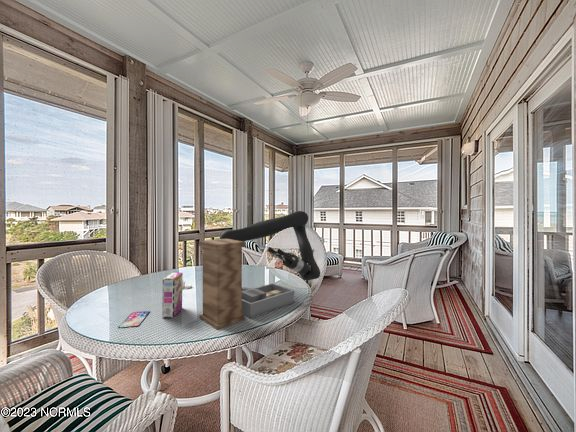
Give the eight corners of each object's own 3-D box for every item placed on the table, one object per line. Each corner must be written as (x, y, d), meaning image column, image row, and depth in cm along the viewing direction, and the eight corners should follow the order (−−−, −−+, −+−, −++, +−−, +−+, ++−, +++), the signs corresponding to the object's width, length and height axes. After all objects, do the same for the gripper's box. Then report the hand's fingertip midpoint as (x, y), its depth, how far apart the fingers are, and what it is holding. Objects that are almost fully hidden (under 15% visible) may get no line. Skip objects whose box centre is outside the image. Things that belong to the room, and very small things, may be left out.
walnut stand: (216, 329, 98) (216, 244, 97) (199, 317, 108) (199, 241, 107) (245, 319, 108) (245, 241, 106) (226, 309, 118) (226, 238, 116)
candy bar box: (174, 318, 108) (174, 278, 108) (162, 318, 108) (161, 278, 107) (183, 307, 119) (182, 271, 119) (171, 307, 119) (171, 272, 118)
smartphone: (116, 327, 99) (132, 312, 113) (116, 329, 99) (132, 313, 113) (138, 326, 100) (151, 310, 115) (138, 327, 100) (151, 312, 115)
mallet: (251, 310, 114) (252, 296, 114) (241, 304, 120) (241, 292, 119) (285, 299, 128) (285, 287, 128) (274, 295, 134) (274, 283, 133)
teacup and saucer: (193, 287, 149) (193, 280, 149) (181, 291, 143) (181, 284, 142) (184, 285, 154) (184, 278, 154) (171, 288, 147) (171, 281, 147)
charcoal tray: (250, 318, 108) (250, 304, 108) (229, 307, 120) (229, 294, 119) (294, 302, 126) (294, 290, 126) (272, 294, 138) (272, 283, 138)
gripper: (286, 253, 143) (265, 240, 133) (306, 257, 133) (285, 243, 122) (281, 266, 141) (260, 254, 130) (301, 271, 130) (279, 258, 120)
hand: (272, 249), depth 126 cm, fingers open, 6 cm apart
